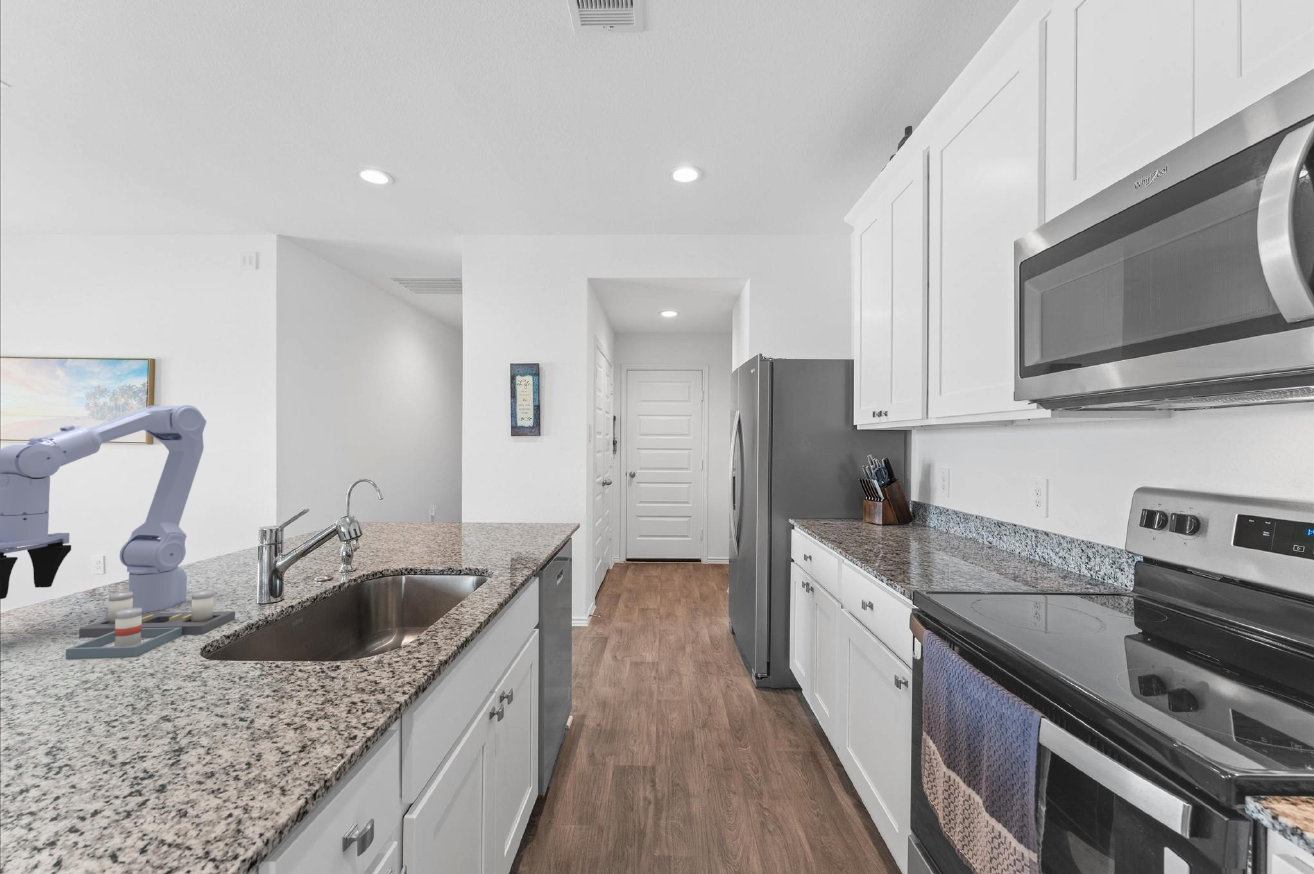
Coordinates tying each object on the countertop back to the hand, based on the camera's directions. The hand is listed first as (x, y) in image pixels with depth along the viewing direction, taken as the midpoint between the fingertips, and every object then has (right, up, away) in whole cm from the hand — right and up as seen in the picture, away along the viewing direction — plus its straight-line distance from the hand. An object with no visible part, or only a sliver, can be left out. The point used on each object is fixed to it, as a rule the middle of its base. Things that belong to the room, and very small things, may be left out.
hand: (21, 592), depth 94 cm
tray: (+20, -10, -2) cm, 22 cm away
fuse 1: (+10, -9, +7) cm, 15 cm away
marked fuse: (+20, -9, -2) cm, 22 cm away
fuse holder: (+17, -10, +8) cm, 21 cm away
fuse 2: (+24, -9, +9) cm, 27 cm away
